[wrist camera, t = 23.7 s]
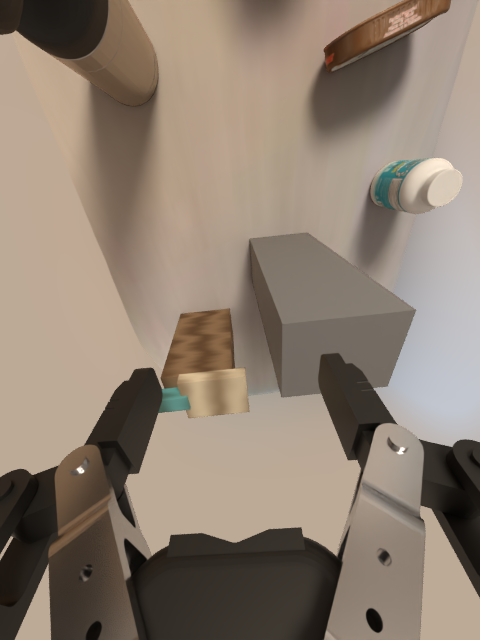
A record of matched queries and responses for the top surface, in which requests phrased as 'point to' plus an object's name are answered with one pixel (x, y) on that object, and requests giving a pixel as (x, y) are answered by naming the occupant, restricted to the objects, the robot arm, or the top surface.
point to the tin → (381, 31)
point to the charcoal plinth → (323, 312)
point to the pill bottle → (416, 185)
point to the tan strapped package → (208, 393)
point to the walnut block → (200, 345)
